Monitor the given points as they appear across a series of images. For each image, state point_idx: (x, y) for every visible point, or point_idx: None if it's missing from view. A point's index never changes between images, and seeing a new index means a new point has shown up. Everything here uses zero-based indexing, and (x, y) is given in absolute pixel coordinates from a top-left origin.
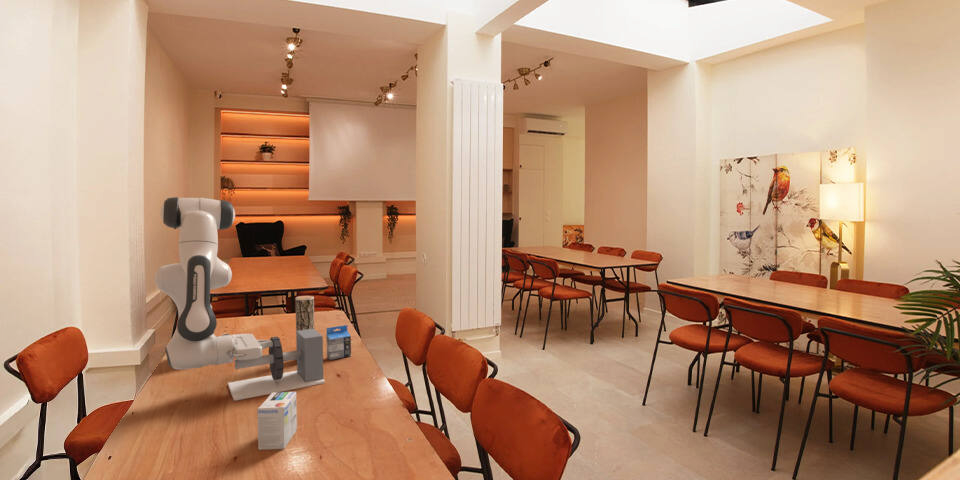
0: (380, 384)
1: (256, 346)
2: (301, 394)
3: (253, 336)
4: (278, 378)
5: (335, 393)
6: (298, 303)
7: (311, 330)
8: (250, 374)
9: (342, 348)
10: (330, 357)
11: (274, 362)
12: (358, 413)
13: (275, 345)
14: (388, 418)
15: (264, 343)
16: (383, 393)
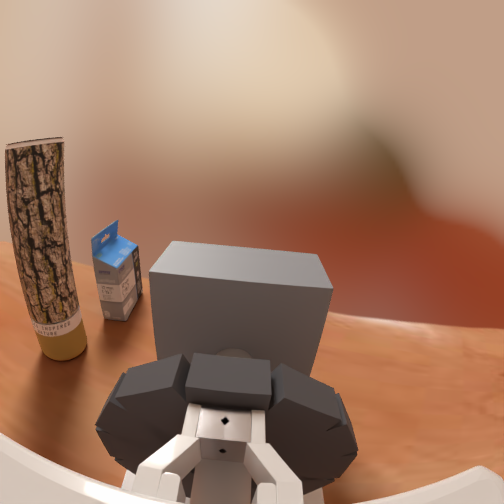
0: (361, 318)
1: (486, 493)
2: (373, 450)
3: (44, 464)
4: None
5: (390, 384)
6: (28, 160)
7: (197, 248)
8: None
9: (134, 281)
10: (125, 315)
11: None
12: (482, 365)
13: (331, 413)
14: (492, 340)
15: (284, 468)
16: (407, 326)
